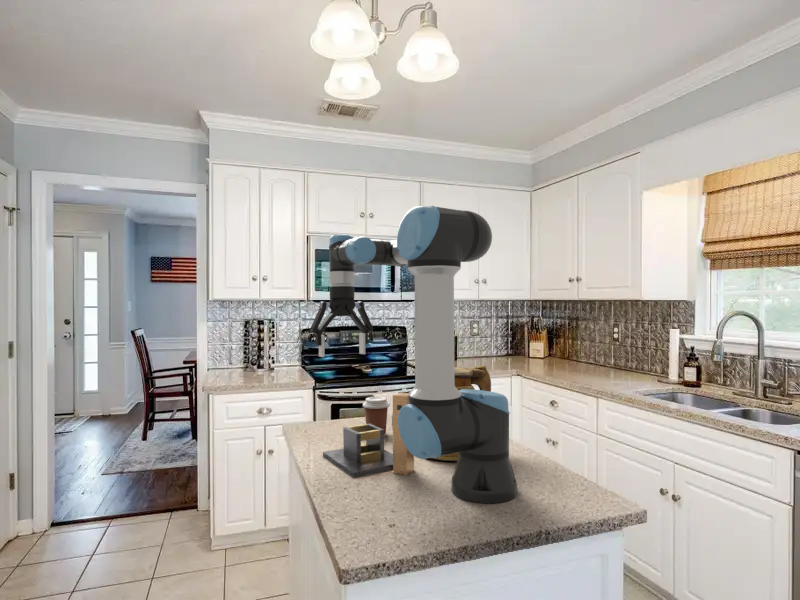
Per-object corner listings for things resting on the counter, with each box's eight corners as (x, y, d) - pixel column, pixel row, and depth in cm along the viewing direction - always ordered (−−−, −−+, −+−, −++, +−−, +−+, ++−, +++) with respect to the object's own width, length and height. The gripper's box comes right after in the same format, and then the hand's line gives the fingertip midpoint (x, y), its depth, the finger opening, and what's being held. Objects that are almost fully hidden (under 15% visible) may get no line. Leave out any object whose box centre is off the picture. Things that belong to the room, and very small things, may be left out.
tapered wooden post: (413, 470, 126) (413, 393, 126) (406, 475, 123) (405, 396, 123) (400, 467, 128) (400, 392, 128) (392, 472, 125) (392, 395, 125)
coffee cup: (357, 433, 162) (357, 398, 162) (379, 429, 168) (379, 394, 168) (372, 439, 155) (372, 402, 155) (395, 435, 160) (395, 398, 160)
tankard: (407, 448, 146) (406, 365, 146) (473, 438, 155) (473, 361, 155) (434, 466, 129) (434, 373, 129) (507, 455, 138) (506, 368, 139)
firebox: (407, 465, 130) (406, 432, 130) (353, 477, 121) (353, 441, 121) (372, 447, 147) (371, 417, 147) (323, 456, 138) (322, 424, 138)
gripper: (372, 286, 157) (372, 351, 157) (298, 285, 144) (299, 356, 144) (383, 286, 151) (383, 353, 151) (307, 284, 138) (308, 359, 138)
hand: (342, 355), depth 147 cm, fingers open, 13 cm apart
